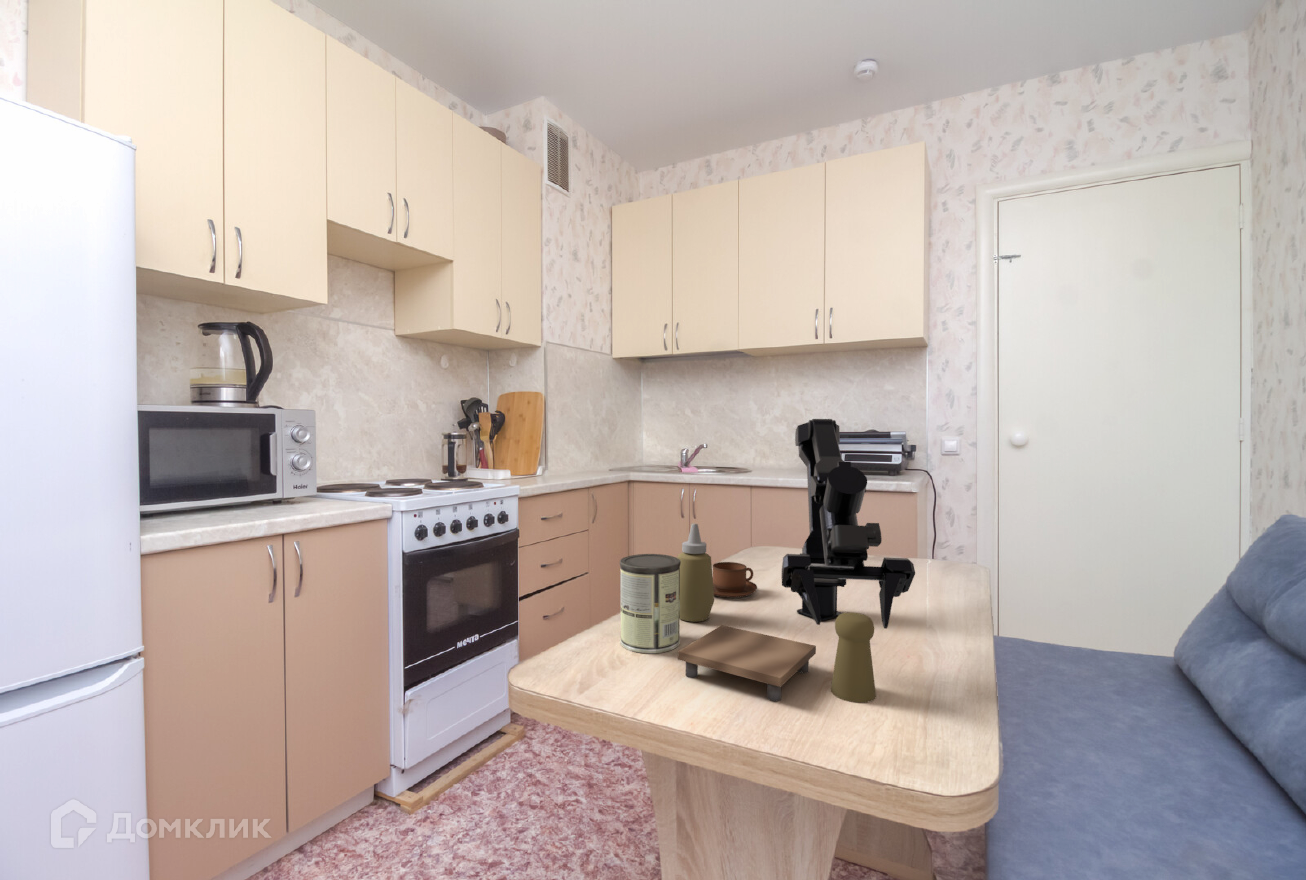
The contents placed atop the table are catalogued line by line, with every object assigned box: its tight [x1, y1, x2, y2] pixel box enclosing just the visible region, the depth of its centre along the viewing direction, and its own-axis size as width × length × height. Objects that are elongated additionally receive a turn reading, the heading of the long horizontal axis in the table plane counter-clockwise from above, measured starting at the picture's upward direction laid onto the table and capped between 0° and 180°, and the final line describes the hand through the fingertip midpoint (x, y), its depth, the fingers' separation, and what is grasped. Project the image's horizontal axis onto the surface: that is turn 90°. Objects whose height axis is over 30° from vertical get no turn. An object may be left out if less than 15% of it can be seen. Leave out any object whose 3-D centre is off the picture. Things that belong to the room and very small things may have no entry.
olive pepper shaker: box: [830, 611, 877, 704], centre depth 84 cm, size 6×6×11 cm
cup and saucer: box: [712, 561, 758, 599], centre depth 132 cm, size 12×12×6 cm
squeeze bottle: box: [676, 523, 715, 623], centre depth 115 cm, size 8×8×18 cm
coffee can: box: [619, 553, 681, 654], centre depth 103 cm, size 10×10×14 cm
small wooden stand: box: [677, 624, 817, 702], centre depth 91 cm, size 16×14×4 cm
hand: (852, 625), depth 86 cm, fingers open, 9 cm apart
